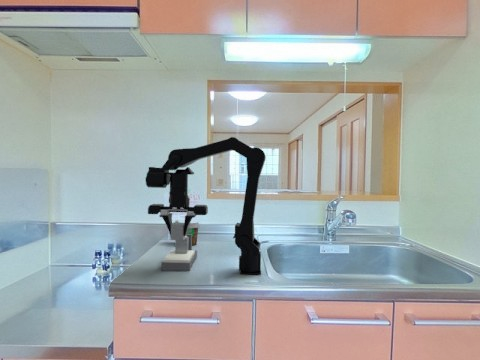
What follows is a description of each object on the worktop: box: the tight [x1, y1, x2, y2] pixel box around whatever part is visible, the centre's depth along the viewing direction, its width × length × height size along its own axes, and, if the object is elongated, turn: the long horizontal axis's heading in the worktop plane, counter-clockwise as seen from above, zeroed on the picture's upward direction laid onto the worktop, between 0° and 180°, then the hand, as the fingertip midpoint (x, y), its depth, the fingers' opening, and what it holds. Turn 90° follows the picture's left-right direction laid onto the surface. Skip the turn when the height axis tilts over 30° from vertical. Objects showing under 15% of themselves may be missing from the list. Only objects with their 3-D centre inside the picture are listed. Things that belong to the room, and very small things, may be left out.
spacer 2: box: [174, 237, 189, 254], centre depth 114 cm, size 4×4×5 cm
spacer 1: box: [170, 221, 185, 241], centre depth 107 cm, size 4×4×5 cm
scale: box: [161, 234, 198, 272], centre depth 112 cm, size 9×17×8 cm, turn 0°
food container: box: [174, 219, 200, 247], centre depth 139 cm, size 12×6×10 cm, turn 62°
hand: (178, 235), depth 107 cm, fingers closed on spacer 1, 4 cm apart
